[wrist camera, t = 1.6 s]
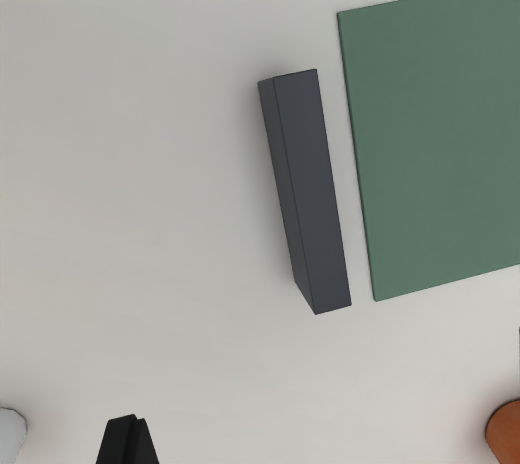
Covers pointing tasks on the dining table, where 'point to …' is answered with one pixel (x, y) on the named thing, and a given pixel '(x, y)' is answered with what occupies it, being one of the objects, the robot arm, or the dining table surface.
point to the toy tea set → (505, 434)
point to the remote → (306, 187)
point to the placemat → (435, 137)
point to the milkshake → (11, 435)
